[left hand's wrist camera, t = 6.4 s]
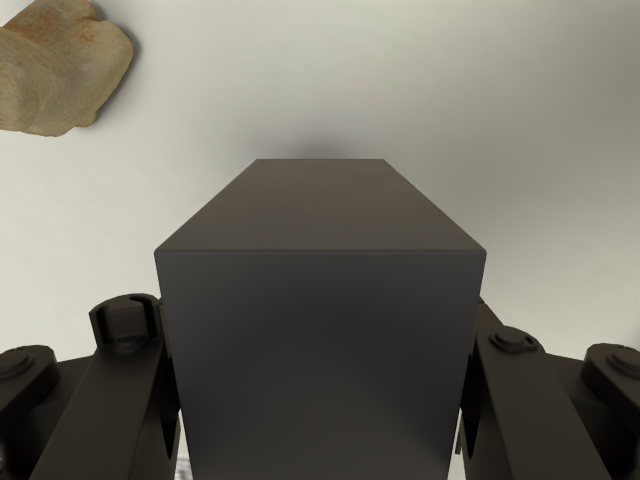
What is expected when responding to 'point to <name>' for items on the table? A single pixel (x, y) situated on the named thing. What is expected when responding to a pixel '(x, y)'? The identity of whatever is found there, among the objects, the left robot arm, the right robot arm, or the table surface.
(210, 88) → the table surface
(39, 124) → the sculpture
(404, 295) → the bar
